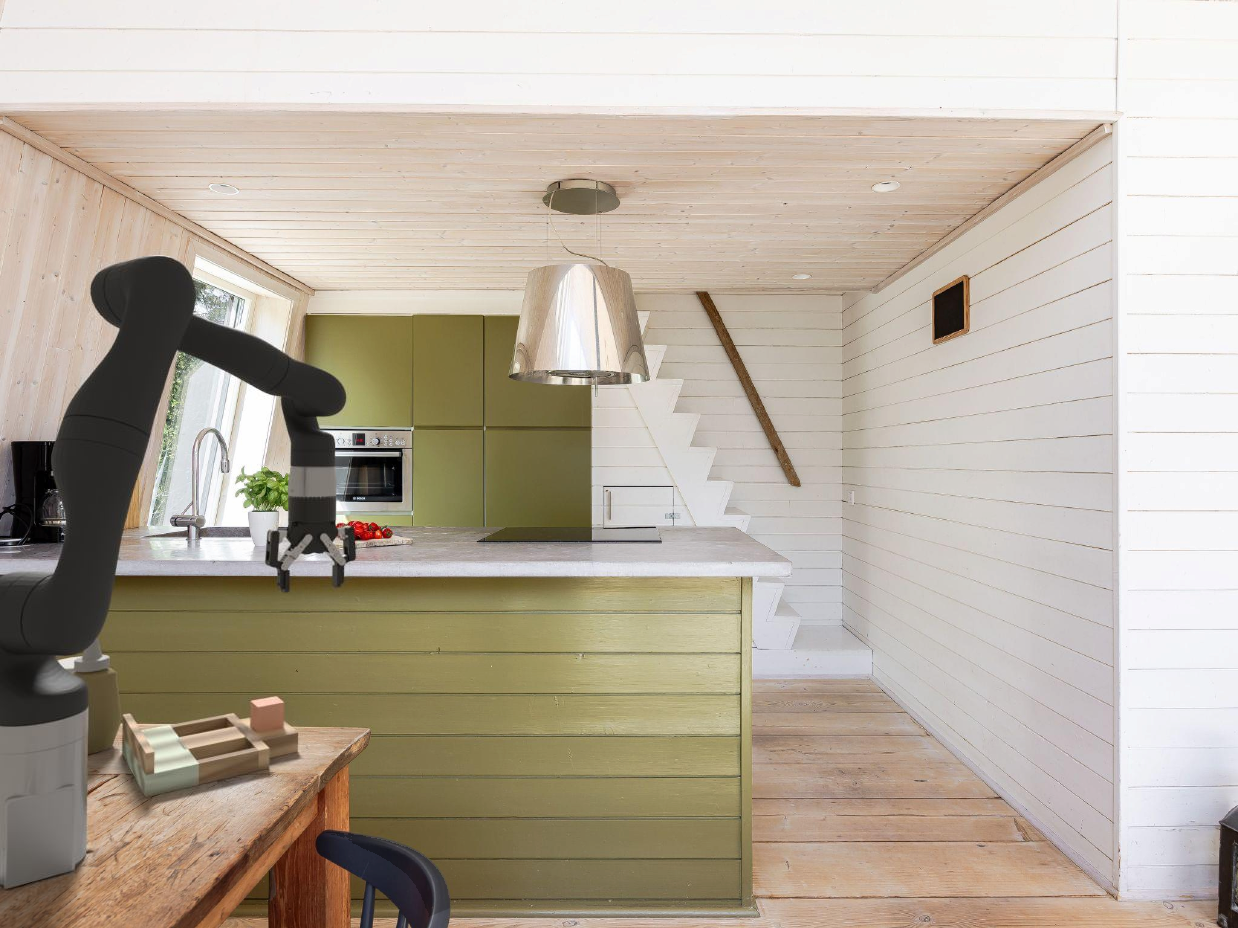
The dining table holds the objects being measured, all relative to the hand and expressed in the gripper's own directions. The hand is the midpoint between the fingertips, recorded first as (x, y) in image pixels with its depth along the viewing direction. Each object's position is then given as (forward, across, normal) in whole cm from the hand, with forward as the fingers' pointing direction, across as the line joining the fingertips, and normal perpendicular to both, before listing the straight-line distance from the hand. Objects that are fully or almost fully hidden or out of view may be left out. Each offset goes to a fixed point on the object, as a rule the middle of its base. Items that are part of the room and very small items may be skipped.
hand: (311, 589), depth 129 cm
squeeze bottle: (+25, -29, +15) cm, 41 cm away
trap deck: (+24, -15, 0) cm, 29 cm away
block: (+21, -7, -1) cm, 23 cm away
